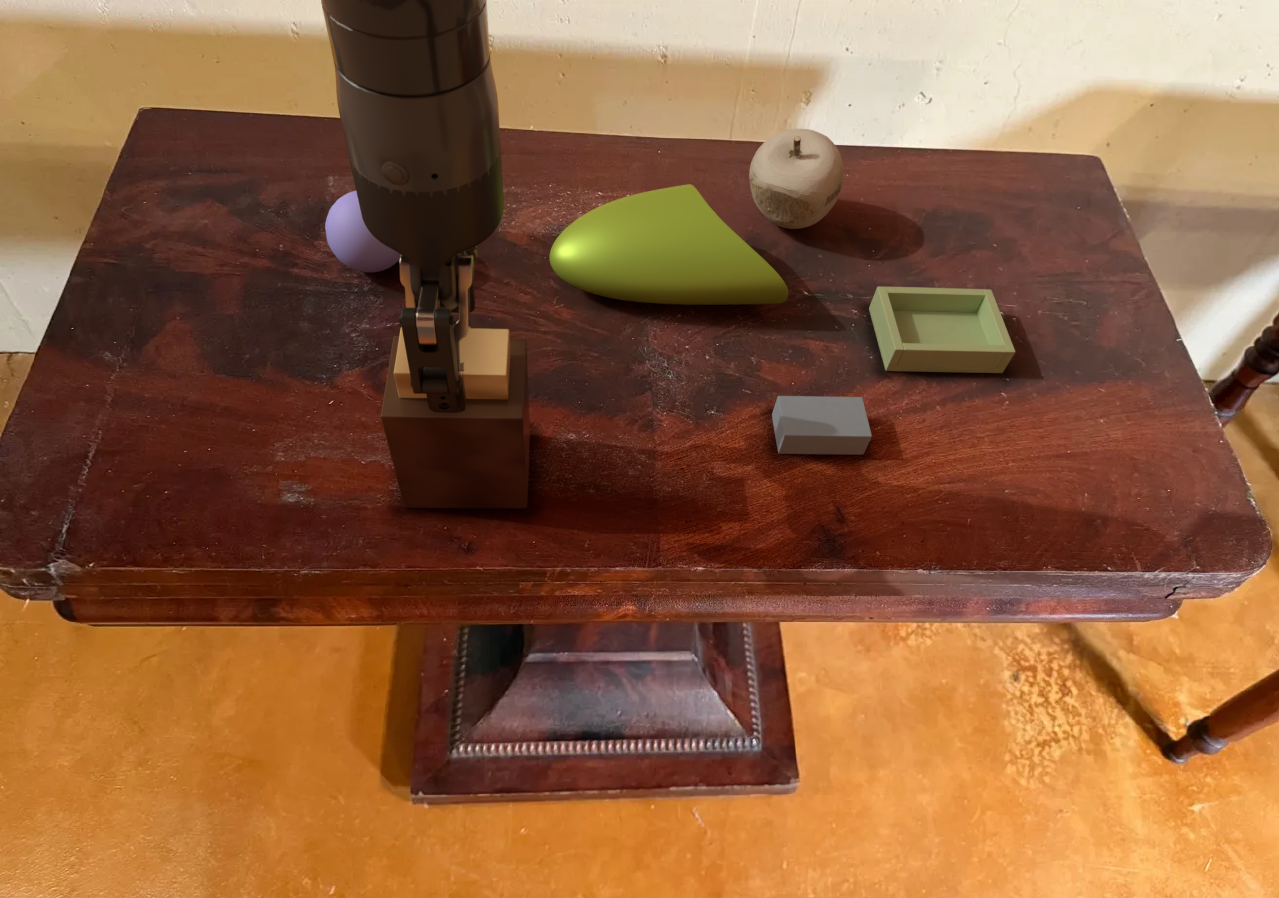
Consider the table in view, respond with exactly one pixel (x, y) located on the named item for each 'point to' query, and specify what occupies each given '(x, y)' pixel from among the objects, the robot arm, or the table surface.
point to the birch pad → (469, 365)
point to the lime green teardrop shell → (663, 253)
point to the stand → (461, 445)
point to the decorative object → (796, 177)
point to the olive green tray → (940, 330)
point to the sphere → (356, 238)
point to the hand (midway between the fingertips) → (453, 355)
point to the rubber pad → (821, 425)
